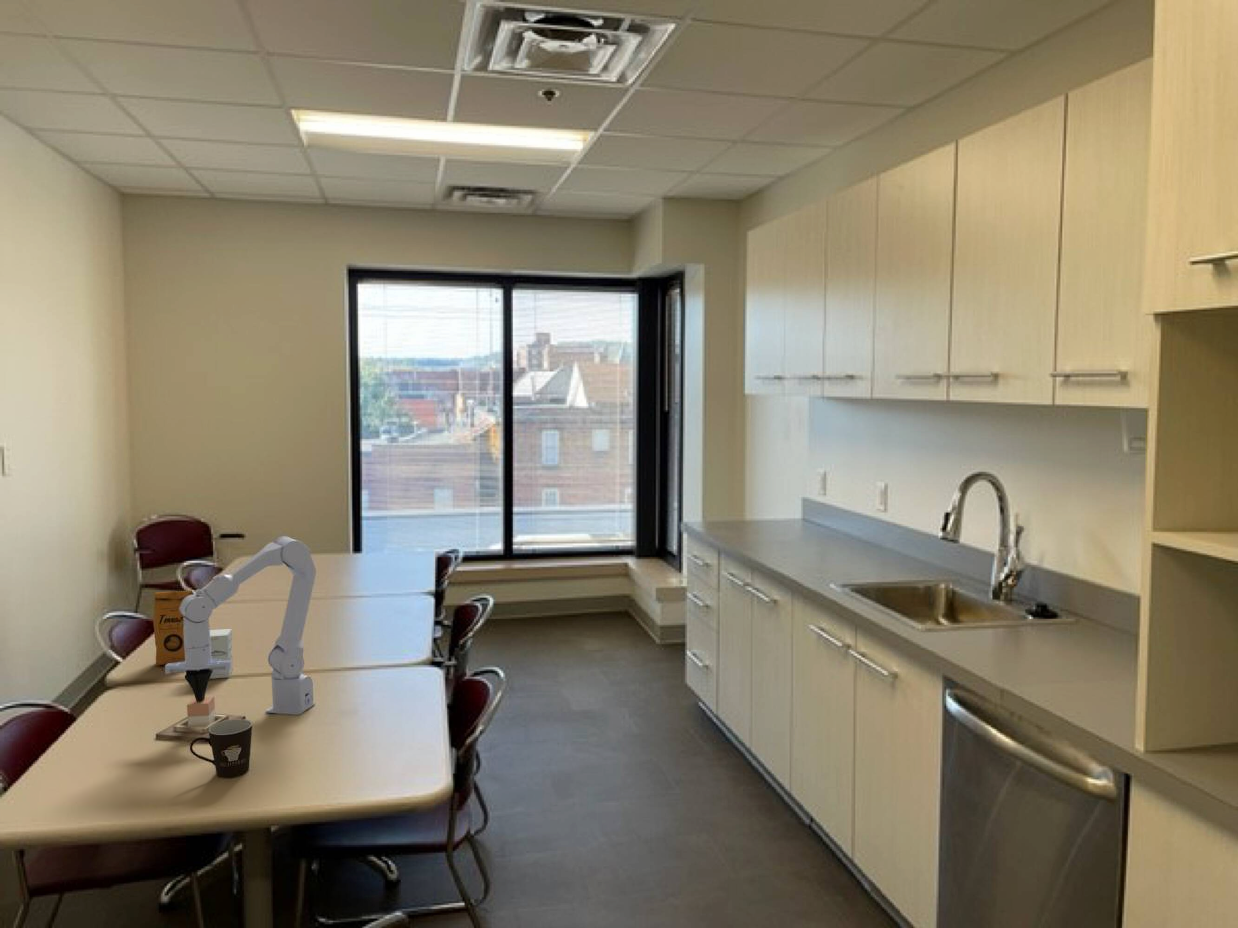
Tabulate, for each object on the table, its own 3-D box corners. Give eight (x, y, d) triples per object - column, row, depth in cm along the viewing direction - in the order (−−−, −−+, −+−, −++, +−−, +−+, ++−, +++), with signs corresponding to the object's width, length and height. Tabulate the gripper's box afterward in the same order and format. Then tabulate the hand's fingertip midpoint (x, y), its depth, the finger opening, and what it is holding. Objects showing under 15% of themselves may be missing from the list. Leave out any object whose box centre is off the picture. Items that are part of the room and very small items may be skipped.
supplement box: (201, 680, 246) (199, 636, 245) (206, 672, 253) (204, 629, 252) (229, 677, 248) (227, 634, 247) (234, 669, 255) (232, 627, 254)
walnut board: (245, 719, 216) (245, 712, 216) (208, 742, 203) (207, 734, 202) (195, 715, 219) (195, 708, 219) (155, 737, 205) (155, 729, 205)
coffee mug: (260, 762, 192) (258, 718, 191) (245, 780, 183) (243, 734, 182) (207, 763, 191) (204, 719, 190) (189, 781, 183) (186, 735, 182)
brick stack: (215, 720, 214) (214, 696, 213) (209, 727, 209) (208, 703, 208) (194, 721, 213) (193, 697, 212) (188, 728, 208) (186, 704, 208)
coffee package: (195, 666, 258) (191, 594, 256) (150, 668, 256) (146, 595, 254) (206, 656, 268) (203, 586, 266) (164, 658, 266) (160, 587, 264)
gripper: (234, 638, 214) (236, 692, 215) (171, 641, 212) (174, 695, 213) (225, 646, 207) (228, 702, 208) (160, 650, 205) (163, 706, 206)
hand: (200, 699), depth 210 cm, fingers closed
